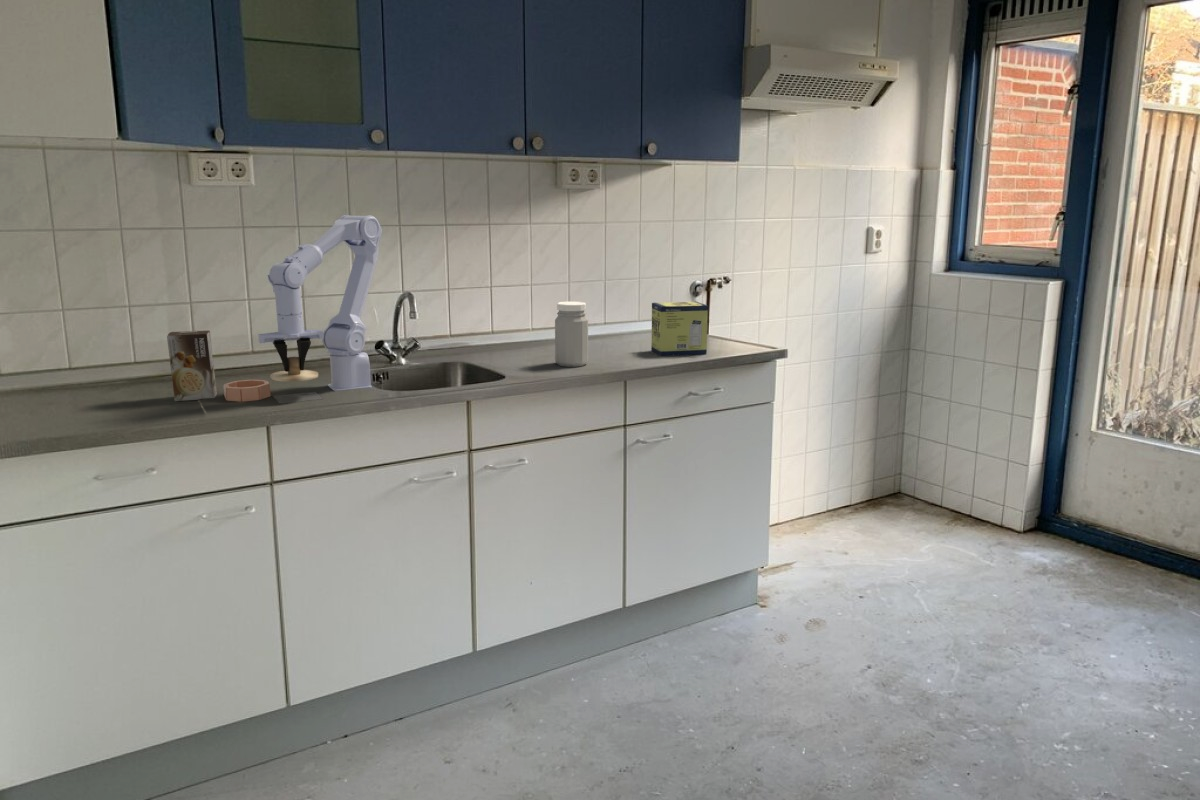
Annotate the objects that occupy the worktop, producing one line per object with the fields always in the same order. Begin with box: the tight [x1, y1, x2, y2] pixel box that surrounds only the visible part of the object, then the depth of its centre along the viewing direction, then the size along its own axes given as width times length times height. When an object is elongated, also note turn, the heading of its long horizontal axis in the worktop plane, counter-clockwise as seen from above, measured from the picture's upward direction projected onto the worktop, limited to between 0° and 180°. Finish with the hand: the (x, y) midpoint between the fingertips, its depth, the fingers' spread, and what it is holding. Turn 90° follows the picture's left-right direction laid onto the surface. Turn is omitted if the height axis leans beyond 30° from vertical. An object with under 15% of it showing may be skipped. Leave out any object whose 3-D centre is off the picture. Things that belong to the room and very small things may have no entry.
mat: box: [272, 391, 324, 405], centre depth 217 cm, size 10×9×1 cm
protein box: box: [650, 300, 709, 357], centre depth 281 cm, size 10×16×16 cm
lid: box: [269, 356, 319, 383], centre depth 215 cm, size 11×11×5 cm
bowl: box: [223, 379, 271, 403], centre depth 217 cm, size 10×10×4 cm
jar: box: [554, 300, 589, 368], centre depth 260 cm, size 10×10×18 cm
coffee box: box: [166, 330, 218, 402], centre depth 216 cm, size 9×6×16 cm
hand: (294, 370), depth 215 cm, fingers closed on lid, 3 cm apart
